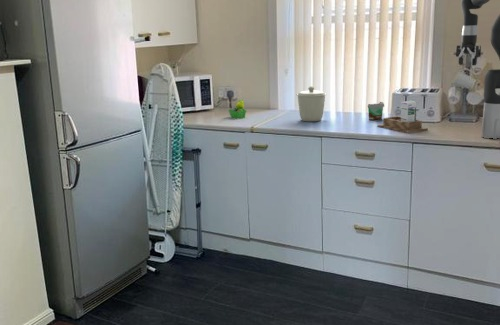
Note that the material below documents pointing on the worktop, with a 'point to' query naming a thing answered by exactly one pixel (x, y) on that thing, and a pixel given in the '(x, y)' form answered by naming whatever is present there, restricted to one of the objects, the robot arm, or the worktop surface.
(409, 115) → the syrup box
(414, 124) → the walnut socket rail
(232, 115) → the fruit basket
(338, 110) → the worktop surface
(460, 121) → the worktop surface
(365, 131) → the worktop surface
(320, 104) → the canister
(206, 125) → the worktop surface
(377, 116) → the food container
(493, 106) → the robot arm
